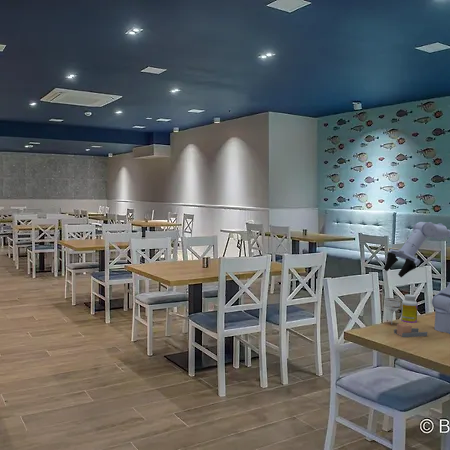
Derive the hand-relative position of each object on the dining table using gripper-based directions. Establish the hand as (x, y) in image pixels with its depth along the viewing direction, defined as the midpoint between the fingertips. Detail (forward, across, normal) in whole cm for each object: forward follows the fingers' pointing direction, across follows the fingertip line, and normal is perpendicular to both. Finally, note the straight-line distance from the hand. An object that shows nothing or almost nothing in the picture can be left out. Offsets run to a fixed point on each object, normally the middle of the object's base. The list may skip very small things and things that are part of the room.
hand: (392, 272), depth 204 cm
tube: (+16, +9, +20) cm, 27 cm away
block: (+17, +8, +18) cm, 26 cm away
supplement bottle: (+7, -6, +36) cm, 38 cm away
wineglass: (+14, -6, +27) cm, 31 cm away
